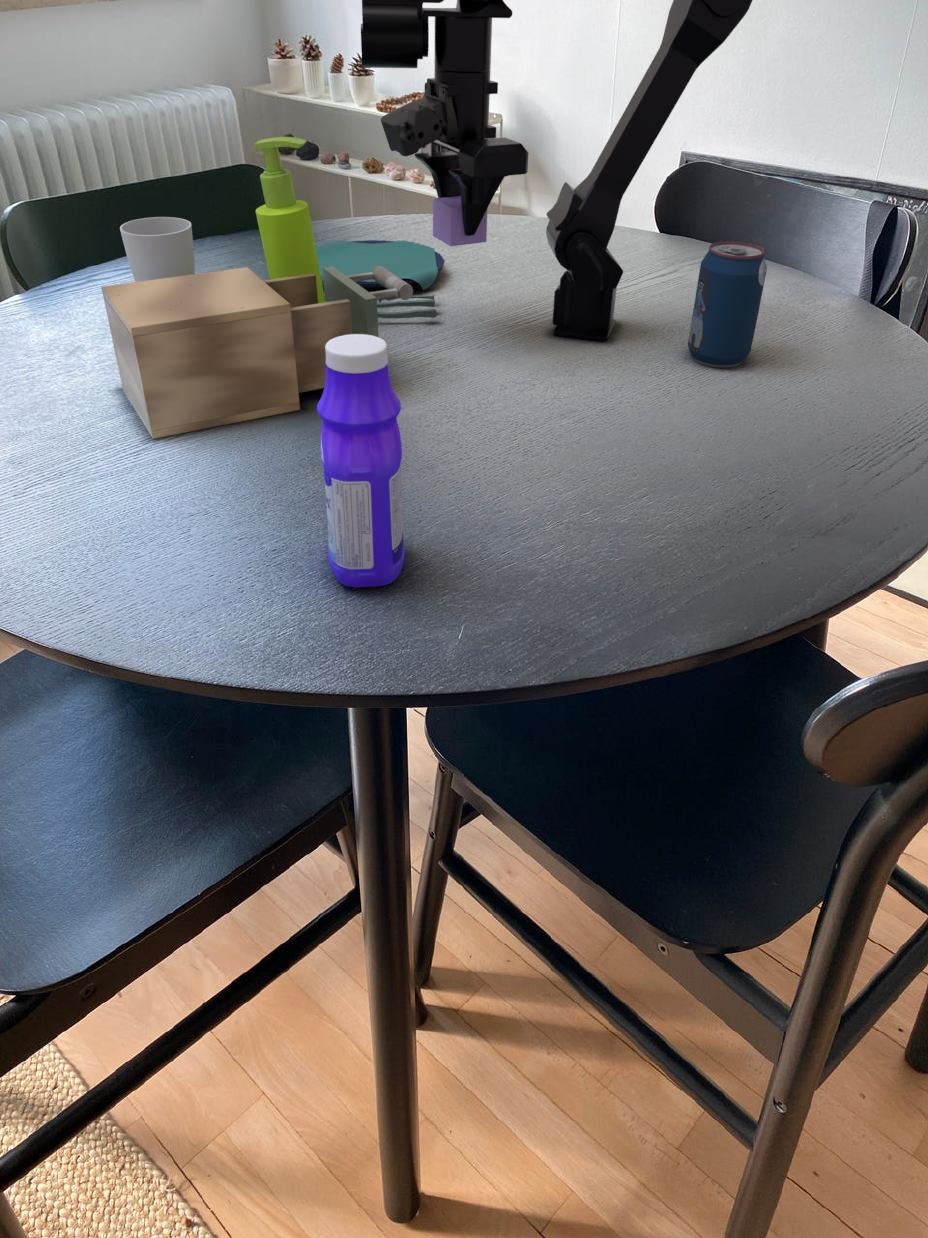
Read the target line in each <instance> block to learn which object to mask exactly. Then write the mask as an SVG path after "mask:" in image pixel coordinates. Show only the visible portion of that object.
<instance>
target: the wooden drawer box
mask: <svg viewBox="0 0 928 1238" xmlns="http://www.w3.org/2000/svg"><path fill="white" fill-rule="evenodd" d="M263 280H264V279H262V278H261V277H260V276H259V275H257V274H256V273H255V272H253V271H252V270H251V268H249V267H247V266H245V267H240V268H231V269H223V270H217V271H216V270H215V271H209V272H202V273H195V274H193V275H185V276H178V277H170V278H163V279H155V280H148V281H140V282H135V281H133V282H127V283H119V284H110V285H105V286H101V293H102V295H103V296H102V297H103V302H104V307H105V311H106V316H107V320H108V326H109V331H110V335H111V340H112V344H113V349H114V354H115V359H116V363H117V369H118V373H119V378H120V382H121V388H122V391H123V393H124V394H125V397H126V398H127V400H128V401H129V403H130V404H131V406H132V407H133V409H134V410H135V412H136V414H137V415H138V417H139V419H140V421H141V422H142V424H143V426H144V427H145V428H146V431H147V432H148V433H149V435H150V437H151V438H152V440H156V439H159V438H166V437H170V436H176V435H179V434H186V433H190V432H194V431H200V430H206V429H211V428H215V427H220V426H221V427H222V426H225V425H231V424H236V423H241V422H245V421H251V420H255V419H260V418H265V417H270V416H276V415H281V414H286V413H291V412H296V411H300V410H301V406H300V405H301V403H300V394H299V393H298V383H297V372H296V362H295V351H294V340H293V330H292V319H291V309H290V303H288V302H287V301H286V300H285V299H284V298H283V297H281V296H280V295H279V294H278V293H277V292H276V291H274V290H273V289H272V288H271V287H270V286H269V285H267V284H266V283H265V282H264V281H263Z"/></svg>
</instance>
